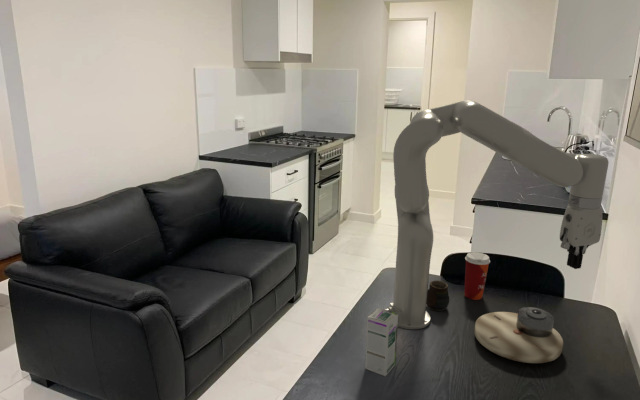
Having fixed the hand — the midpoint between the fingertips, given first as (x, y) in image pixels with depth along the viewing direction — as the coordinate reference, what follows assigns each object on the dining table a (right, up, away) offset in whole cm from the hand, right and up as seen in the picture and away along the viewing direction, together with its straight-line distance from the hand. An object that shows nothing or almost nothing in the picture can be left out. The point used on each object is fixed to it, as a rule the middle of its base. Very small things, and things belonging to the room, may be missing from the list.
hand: (573, 266), depth 130 cm
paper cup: (-19, -13, +27) cm, 35 cm away
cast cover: (-10, -17, +1) cm, 20 cm away
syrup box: (-54, -24, -11) cm, 60 cm away
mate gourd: (-33, -16, +19) cm, 41 cm away
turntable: (-16, -19, 0) cm, 25 cm away
